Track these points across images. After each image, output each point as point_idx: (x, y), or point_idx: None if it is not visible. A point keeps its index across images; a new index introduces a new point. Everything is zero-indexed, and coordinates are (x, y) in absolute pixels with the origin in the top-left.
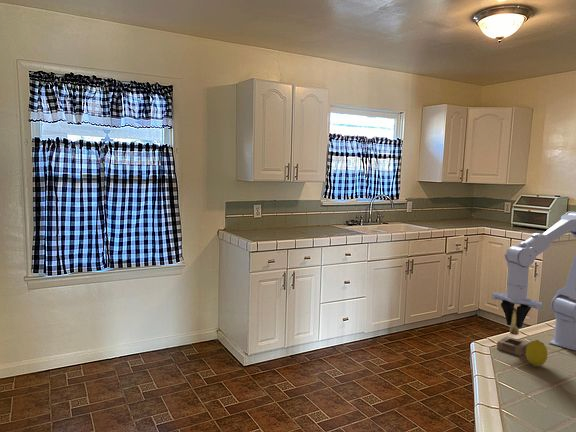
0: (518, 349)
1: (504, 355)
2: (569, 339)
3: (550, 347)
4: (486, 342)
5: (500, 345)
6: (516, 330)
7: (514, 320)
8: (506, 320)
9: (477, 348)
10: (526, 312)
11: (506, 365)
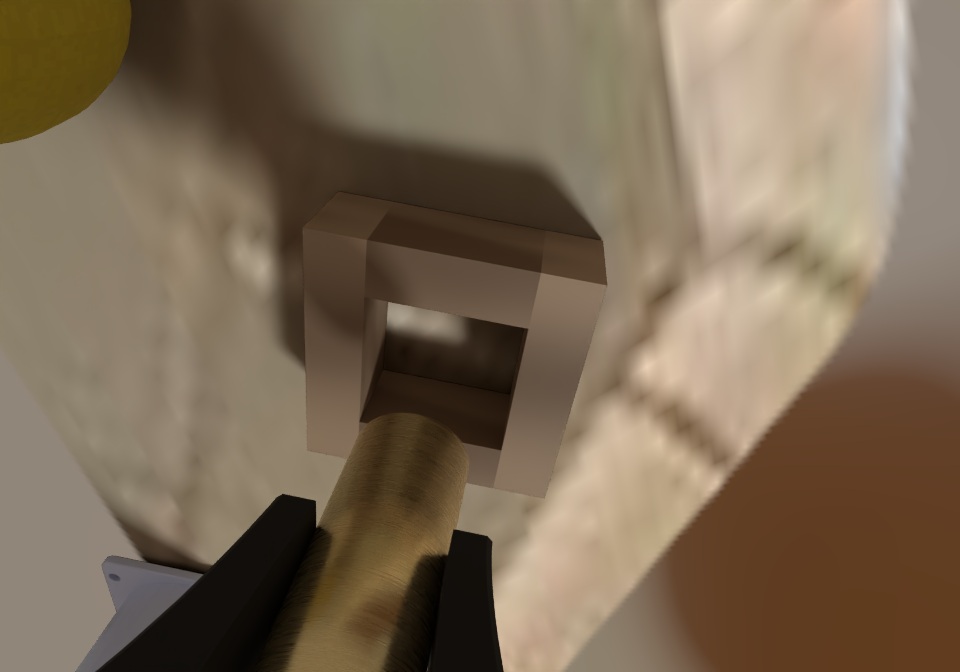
0: (333, 223)
1: (477, 81)
2: (119, 637)
3: None
4: (743, 360)
5: (563, 258)
6: (349, 470)
7: (323, 620)
8: (494, 609)
9: (849, 81)
10: None
11: None
